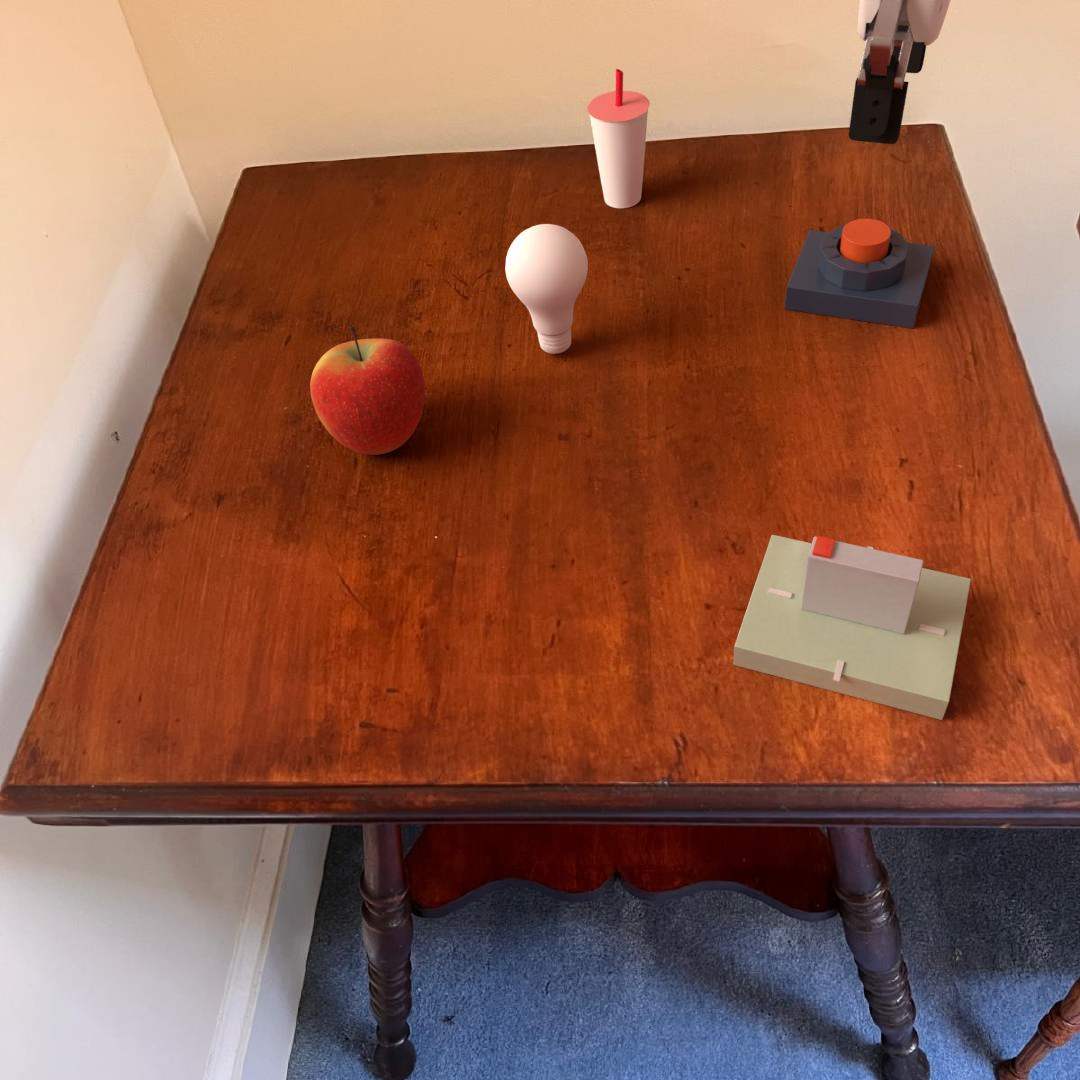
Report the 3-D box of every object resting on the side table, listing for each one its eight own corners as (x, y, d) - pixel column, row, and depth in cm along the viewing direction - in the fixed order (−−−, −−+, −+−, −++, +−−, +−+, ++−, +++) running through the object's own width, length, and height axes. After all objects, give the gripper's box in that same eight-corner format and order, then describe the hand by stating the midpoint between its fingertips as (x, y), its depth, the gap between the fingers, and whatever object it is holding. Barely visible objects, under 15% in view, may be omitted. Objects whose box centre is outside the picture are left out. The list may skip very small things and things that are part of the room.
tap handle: (908, 613, 60) (924, 556, 57) (904, 634, 60) (920, 578, 56) (806, 588, 62) (814, 532, 58) (800, 609, 61) (808, 553, 58)
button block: (929, 268, 84) (939, 225, 81) (913, 329, 80) (922, 286, 77) (806, 252, 87) (811, 210, 84) (784, 309, 83) (788, 267, 80)
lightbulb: (551, 387, 80) (535, 266, 71) (503, 351, 83) (483, 232, 75) (610, 350, 82) (602, 229, 74) (561, 316, 85) (548, 197, 77)
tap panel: (965, 591, 64) (973, 569, 62) (940, 729, 58) (948, 709, 56) (772, 547, 67) (774, 525, 66) (730, 673, 62) (731, 652, 60)
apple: (327, 484, 75) (287, 380, 68) (333, 410, 81) (297, 305, 73) (436, 470, 75) (409, 364, 68) (435, 396, 80) (410, 290, 73)
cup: (652, 181, 97) (649, 53, 88) (651, 213, 94) (647, 84, 85) (595, 183, 98) (587, 57, 89) (591, 215, 94) (582, 87, 85)
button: (891, 240, 81) (894, 221, 80) (883, 267, 79) (886, 247, 78) (845, 235, 82) (847, 215, 81) (835, 261, 80) (838, 241, 79)
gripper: (983, -130, 52) (922, 176, 65) (1019, -235, 62) (960, 50, 75) (833, -133, 55) (803, 164, 68) (890, -234, 65) (855, 42, 78)
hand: (886, 103), depth 72 cm, fingers open, 9 cm apart
